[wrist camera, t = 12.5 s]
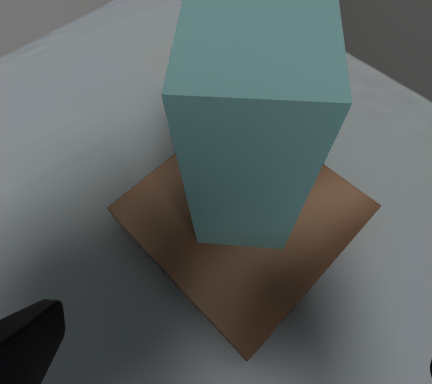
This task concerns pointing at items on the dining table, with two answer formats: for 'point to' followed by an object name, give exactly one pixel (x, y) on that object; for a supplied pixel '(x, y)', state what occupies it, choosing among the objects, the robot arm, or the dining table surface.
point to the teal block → (254, 112)
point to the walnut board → (242, 252)
